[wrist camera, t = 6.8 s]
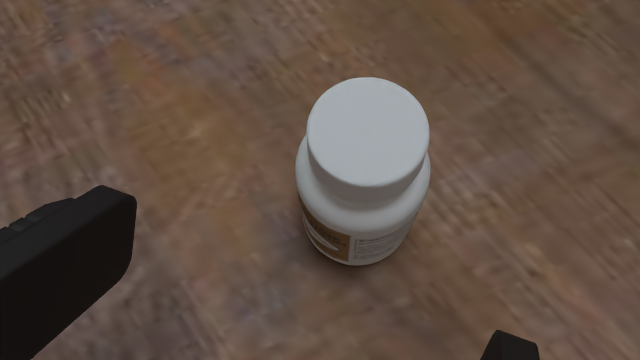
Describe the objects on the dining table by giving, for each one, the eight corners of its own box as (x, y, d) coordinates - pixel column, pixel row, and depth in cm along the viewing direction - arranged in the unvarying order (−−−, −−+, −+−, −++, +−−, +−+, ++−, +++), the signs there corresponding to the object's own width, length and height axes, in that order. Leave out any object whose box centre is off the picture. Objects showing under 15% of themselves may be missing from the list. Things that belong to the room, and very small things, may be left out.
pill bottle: (286, 188, 22) (265, 92, 15) (381, 151, 23) (404, 41, 16) (327, 285, 21) (325, 229, 14) (428, 242, 21) (477, 167, 14)
